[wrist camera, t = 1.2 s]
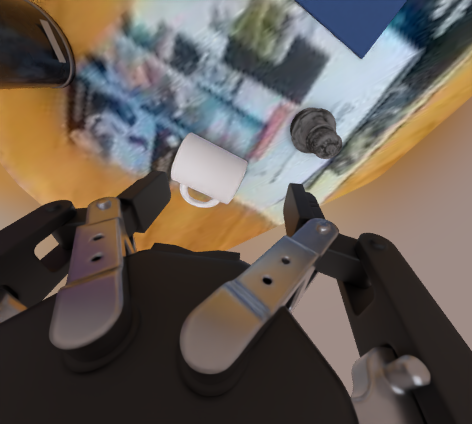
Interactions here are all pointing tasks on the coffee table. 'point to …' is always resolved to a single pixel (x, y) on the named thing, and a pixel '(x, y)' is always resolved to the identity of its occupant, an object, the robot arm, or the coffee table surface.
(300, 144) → the dark grey turned piece
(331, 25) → the blue notebook
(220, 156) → the mug
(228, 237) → the coffee table surface
